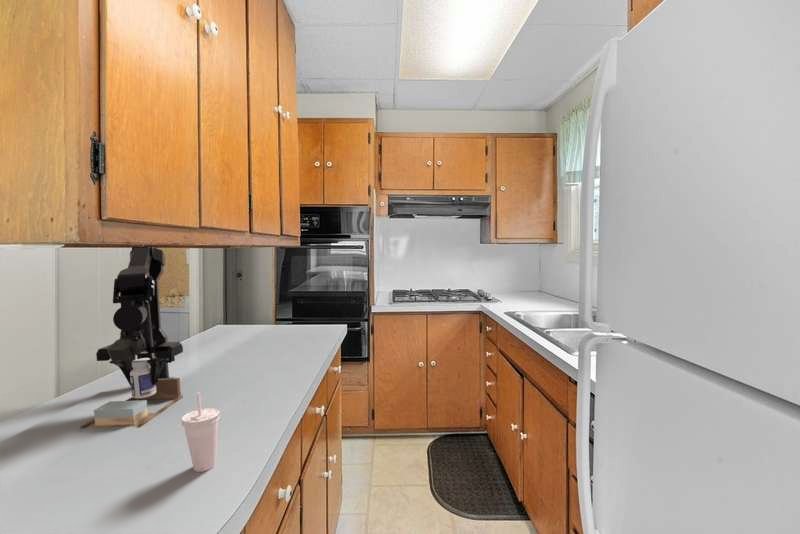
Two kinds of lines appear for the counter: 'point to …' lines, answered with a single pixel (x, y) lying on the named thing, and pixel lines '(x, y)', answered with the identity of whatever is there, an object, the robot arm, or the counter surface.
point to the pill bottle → (141, 379)
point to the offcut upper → (120, 409)
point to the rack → (164, 390)
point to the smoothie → (202, 436)
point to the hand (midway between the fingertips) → (143, 384)
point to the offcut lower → (121, 419)
